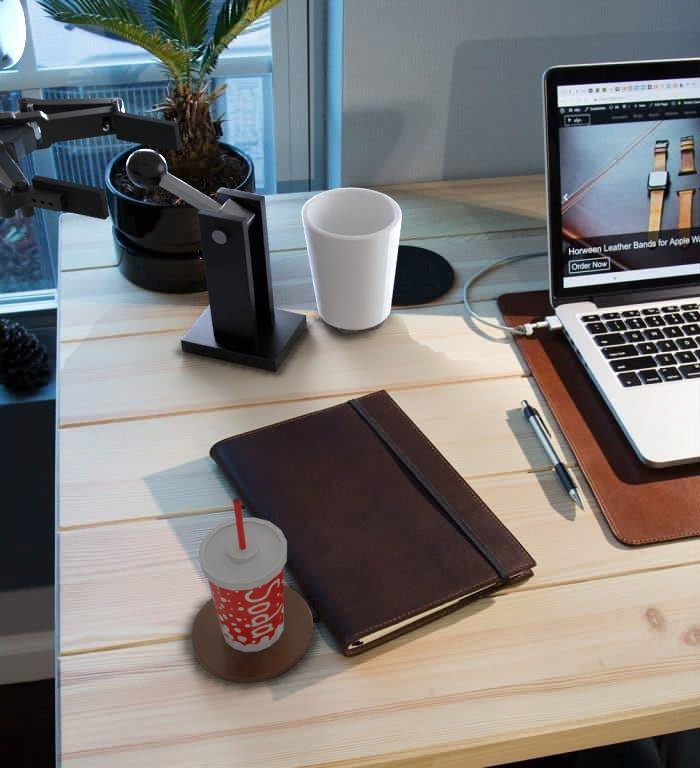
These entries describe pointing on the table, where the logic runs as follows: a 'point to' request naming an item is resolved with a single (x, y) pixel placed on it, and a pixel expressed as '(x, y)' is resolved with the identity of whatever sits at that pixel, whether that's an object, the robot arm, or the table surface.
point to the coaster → (260, 663)
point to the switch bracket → (240, 291)
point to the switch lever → (175, 183)
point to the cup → (352, 255)
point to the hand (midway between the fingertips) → (143, 169)
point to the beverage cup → (246, 579)
